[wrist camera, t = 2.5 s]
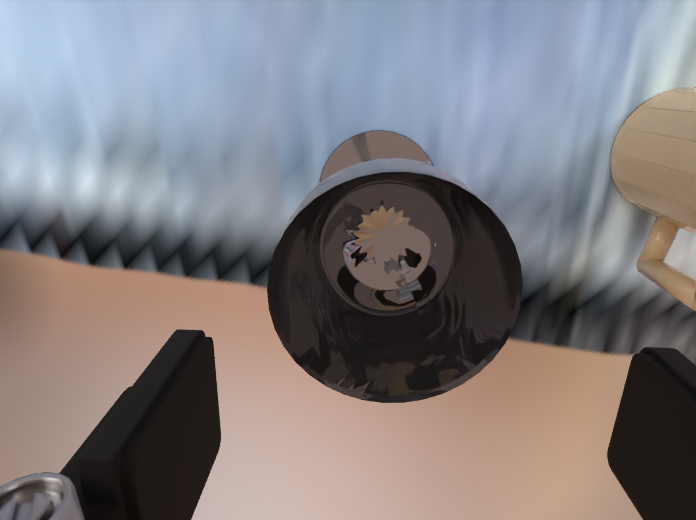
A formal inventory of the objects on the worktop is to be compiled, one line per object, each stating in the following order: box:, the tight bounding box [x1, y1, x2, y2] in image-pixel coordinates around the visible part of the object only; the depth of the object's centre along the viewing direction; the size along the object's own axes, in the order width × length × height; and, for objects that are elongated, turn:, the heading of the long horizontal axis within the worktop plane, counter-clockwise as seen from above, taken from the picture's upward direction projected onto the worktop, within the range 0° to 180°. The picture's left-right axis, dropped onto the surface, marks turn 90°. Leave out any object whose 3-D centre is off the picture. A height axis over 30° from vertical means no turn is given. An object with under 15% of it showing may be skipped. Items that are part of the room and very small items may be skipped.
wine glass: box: [267, 130, 523, 403], centre depth 22 cm, size 8×8×15 cm
